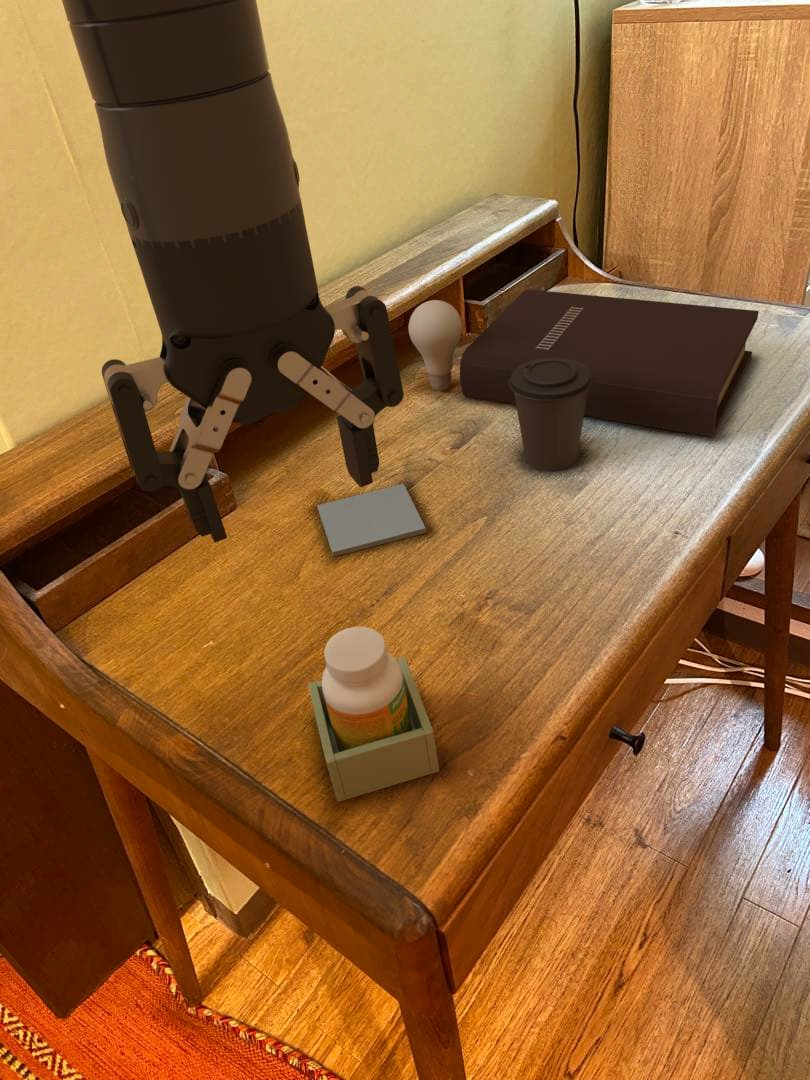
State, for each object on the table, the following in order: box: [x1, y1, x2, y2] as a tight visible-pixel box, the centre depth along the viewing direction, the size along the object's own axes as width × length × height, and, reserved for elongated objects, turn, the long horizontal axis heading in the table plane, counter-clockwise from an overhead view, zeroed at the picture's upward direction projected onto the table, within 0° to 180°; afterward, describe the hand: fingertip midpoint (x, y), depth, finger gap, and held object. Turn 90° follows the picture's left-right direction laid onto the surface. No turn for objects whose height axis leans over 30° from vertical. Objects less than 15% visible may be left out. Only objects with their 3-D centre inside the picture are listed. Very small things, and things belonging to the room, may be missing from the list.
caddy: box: [307, 656, 440, 803], centre depth 57 cm, size 7×7×4 cm
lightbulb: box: [408, 299, 463, 392], centre depth 95 cm, size 6×6×11 cm
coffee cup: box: [509, 358, 593, 472], centre depth 82 cm, size 8×8×10 cm
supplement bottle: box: [321, 626, 412, 752], centre depth 55 cm, size 5×5×10 cm
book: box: [459, 288, 759, 438], centre depth 94 cm, size 28×20×6 cm
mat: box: [316, 483, 427, 558], centre depth 79 cm, size 9×8×1 cm
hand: (290, 505), depth 45 cm, fingers open, 8 cm apart
